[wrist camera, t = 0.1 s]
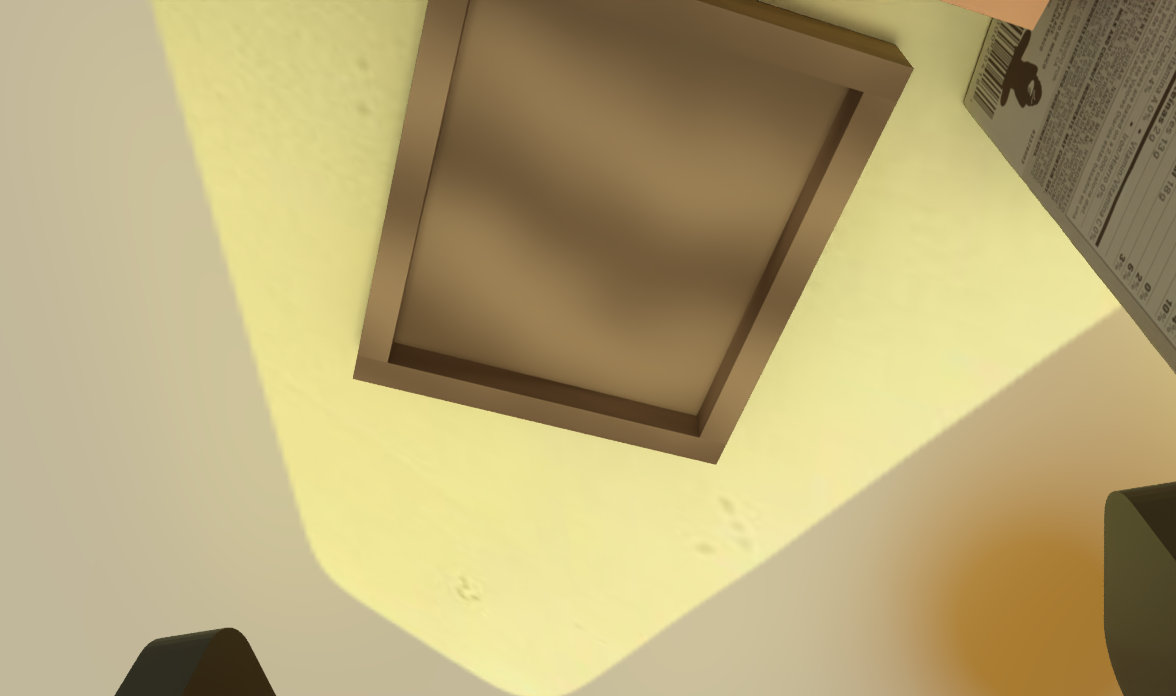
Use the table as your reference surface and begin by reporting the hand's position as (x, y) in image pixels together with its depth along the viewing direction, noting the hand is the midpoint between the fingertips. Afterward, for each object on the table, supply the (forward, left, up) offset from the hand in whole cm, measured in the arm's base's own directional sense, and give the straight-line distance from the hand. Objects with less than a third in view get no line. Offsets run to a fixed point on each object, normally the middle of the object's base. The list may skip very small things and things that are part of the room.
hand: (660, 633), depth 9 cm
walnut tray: (+7, +2, -22) cm, 23 cm away
